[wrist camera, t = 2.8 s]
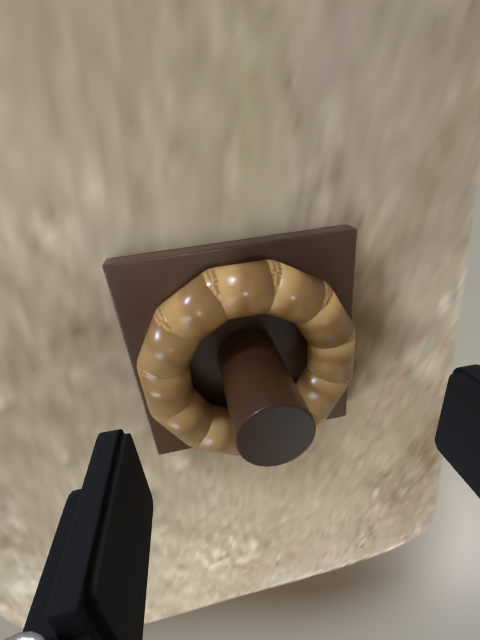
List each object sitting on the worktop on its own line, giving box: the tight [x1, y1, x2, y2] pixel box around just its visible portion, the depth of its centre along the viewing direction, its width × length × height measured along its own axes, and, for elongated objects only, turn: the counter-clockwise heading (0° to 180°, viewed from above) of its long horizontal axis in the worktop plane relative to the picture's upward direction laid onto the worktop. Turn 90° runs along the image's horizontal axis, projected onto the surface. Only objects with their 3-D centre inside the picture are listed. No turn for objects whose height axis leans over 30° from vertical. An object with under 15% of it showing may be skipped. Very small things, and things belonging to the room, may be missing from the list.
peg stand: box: [103, 225, 357, 466], centre depth 12 cm, size 9×9×5 cm
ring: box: [137, 260, 356, 456], centre depth 13 cm, size 8×8×2 cm
